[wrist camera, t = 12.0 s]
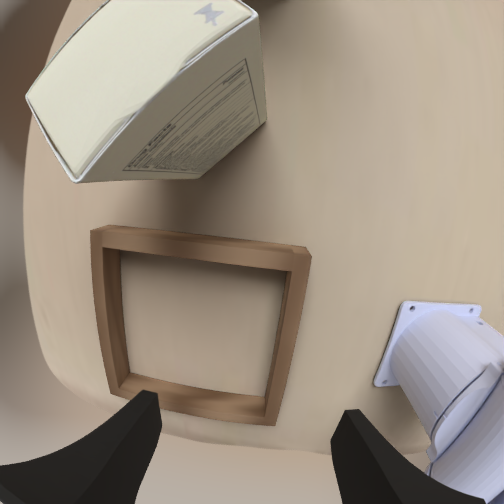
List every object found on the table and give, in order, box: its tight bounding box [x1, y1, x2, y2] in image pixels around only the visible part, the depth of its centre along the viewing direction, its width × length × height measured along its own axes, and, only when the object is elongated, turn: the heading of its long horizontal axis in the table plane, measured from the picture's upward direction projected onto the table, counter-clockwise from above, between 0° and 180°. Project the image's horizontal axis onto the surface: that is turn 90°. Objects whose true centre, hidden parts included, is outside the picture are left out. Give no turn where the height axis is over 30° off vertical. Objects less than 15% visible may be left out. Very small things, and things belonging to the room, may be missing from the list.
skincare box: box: [26, 0, 267, 184], centre depth 11 cm, size 6×4×12 cm
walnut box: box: [90, 225, 312, 426], centre depth 19 cm, size 14×14×2 cm
